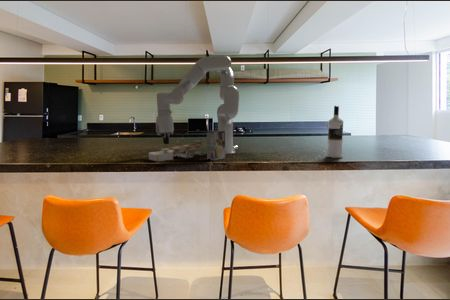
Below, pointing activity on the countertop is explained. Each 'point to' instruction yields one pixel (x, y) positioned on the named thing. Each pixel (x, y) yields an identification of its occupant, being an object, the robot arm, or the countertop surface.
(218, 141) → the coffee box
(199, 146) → the launcher
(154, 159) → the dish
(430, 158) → the countertop surface
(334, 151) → the vodka
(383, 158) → the countertop surface
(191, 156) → the stand
